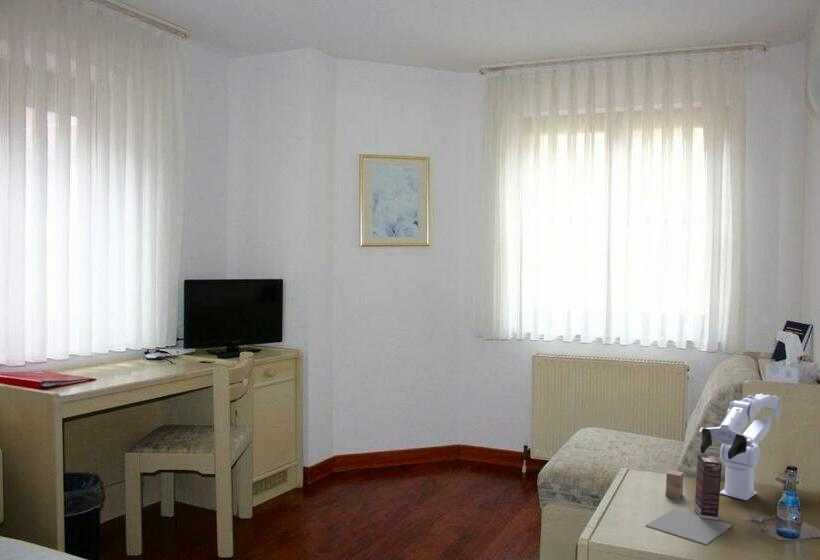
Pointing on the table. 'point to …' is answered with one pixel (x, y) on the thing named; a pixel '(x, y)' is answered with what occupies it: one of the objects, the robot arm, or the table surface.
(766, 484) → the table surface
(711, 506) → the supplement box
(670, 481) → the walnut block
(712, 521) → the mat
